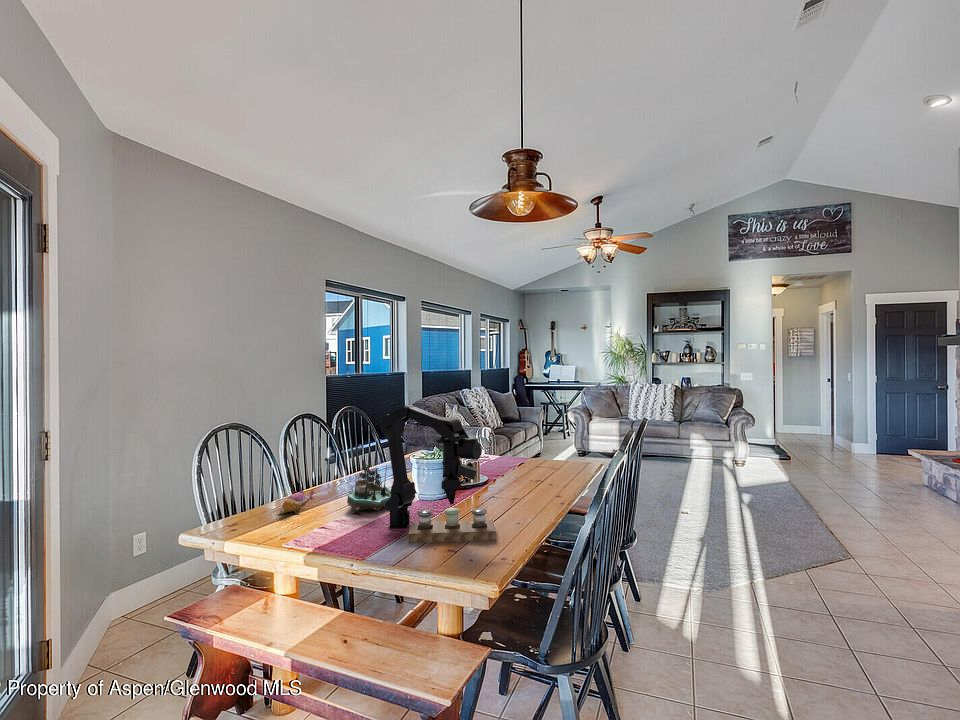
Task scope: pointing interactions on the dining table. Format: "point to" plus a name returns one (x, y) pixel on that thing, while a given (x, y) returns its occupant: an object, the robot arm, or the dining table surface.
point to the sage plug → (452, 516)
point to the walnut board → (452, 532)
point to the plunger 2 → (479, 516)
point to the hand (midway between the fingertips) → (451, 504)
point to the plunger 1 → (424, 518)
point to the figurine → (295, 501)
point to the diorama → (369, 492)
